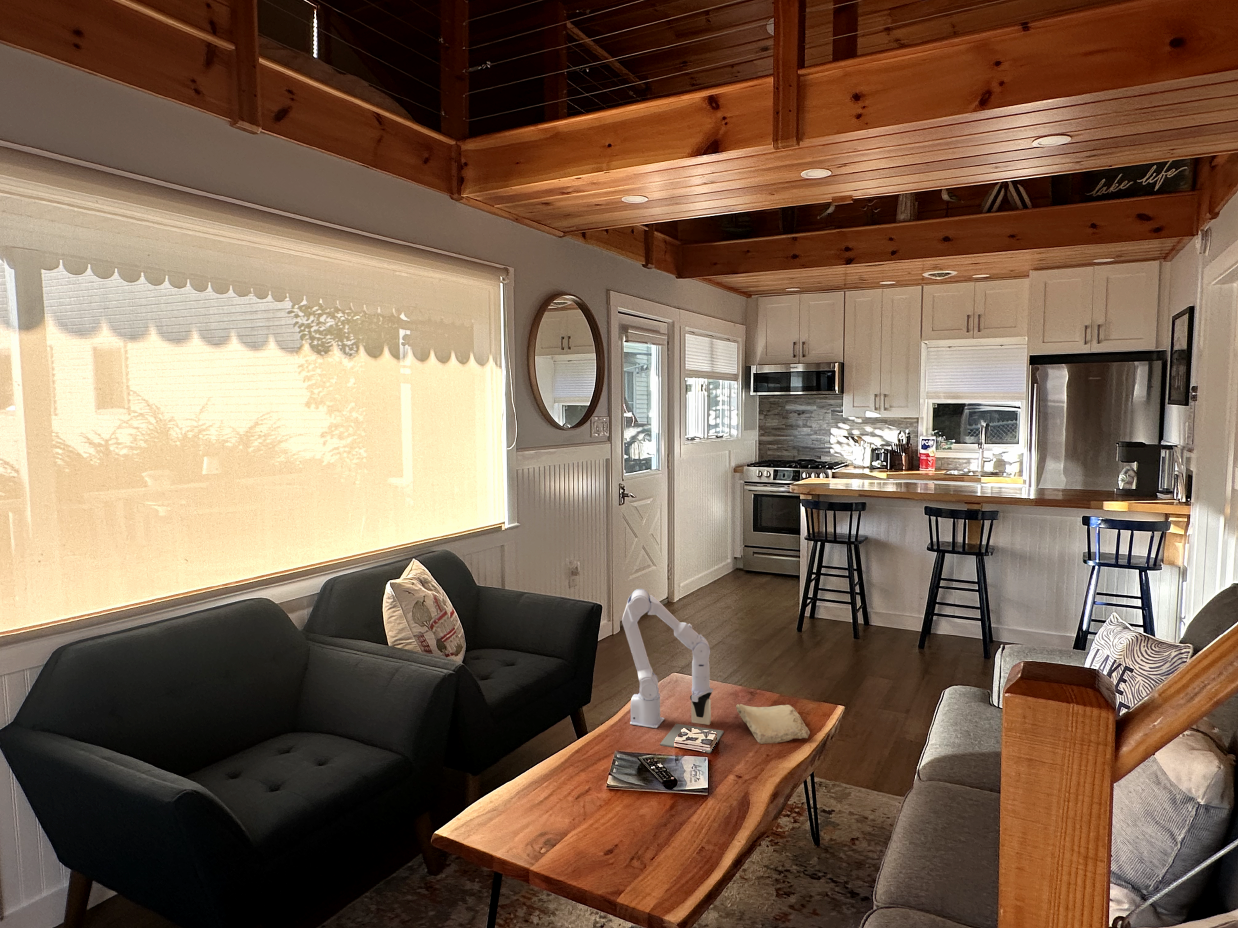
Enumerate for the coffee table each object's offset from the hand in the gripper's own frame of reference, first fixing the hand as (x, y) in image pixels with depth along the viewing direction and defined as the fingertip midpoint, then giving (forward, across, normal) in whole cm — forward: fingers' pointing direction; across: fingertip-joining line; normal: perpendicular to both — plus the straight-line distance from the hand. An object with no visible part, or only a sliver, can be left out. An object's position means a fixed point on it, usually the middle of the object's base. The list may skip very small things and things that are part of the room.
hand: (701, 715), depth 258 cm
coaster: (+2, 0, 0) cm, 2 cm away
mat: (+2, -13, -1) cm, 13 cm away
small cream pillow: (+3, +4, -22) cm, 23 cm away
